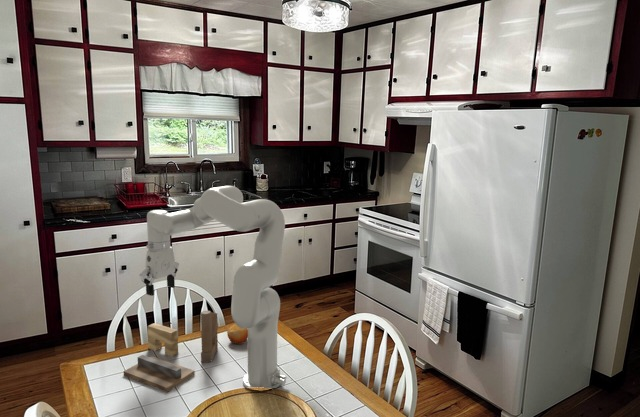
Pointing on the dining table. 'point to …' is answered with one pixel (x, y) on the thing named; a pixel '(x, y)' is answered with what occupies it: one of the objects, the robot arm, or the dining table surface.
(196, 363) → the dining table surface
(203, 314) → the wooden block
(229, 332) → the fruit
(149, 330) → the wooden bridge block
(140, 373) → the rib board
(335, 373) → the dining table surface
